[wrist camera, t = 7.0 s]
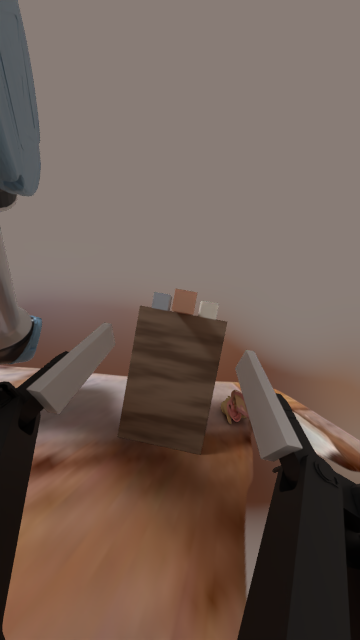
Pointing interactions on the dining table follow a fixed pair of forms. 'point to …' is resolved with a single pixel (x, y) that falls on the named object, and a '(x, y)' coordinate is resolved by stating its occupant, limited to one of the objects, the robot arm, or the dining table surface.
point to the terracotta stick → (184, 301)
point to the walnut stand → (171, 379)
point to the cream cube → (208, 310)
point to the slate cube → (161, 301)
